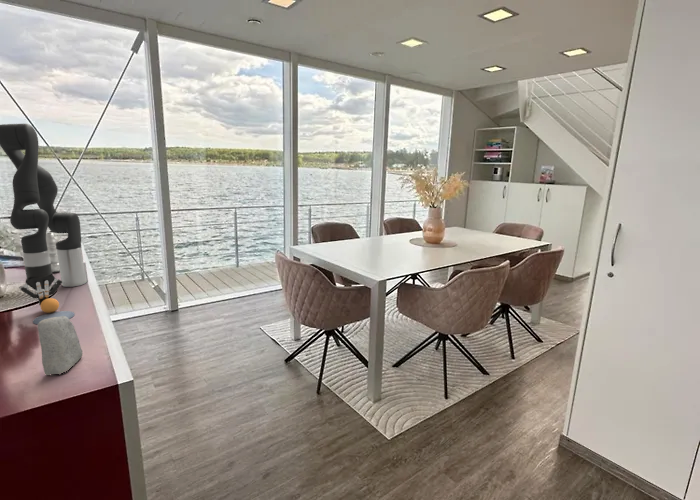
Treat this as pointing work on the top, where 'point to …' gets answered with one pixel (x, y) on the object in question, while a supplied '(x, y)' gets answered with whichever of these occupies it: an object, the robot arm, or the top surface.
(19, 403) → the top surface
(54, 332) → the decorative stone
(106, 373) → the top surface
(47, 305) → the ball
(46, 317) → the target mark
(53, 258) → the plastic bottle
